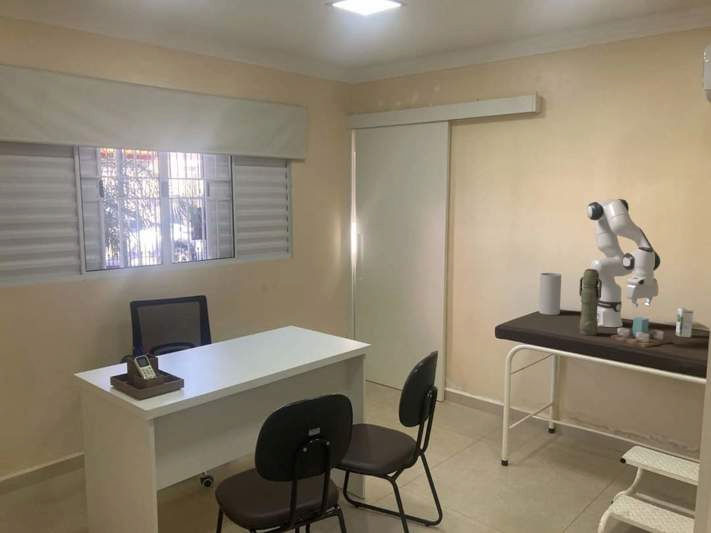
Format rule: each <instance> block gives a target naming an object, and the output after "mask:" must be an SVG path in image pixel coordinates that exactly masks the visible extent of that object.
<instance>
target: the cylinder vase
mask: <svg viewBox="0 0 711 533" xmlns="http://www.w3.org/2000/svg"><path fill="white" fill-rule="evenodd" d="M539 276H540V277H539V296H538V297H539V298H538V299H539V300H538V301H539V303H538V304H539V305H538V313H539V314H541V315H546V316H558V315H560V312H561V292H562V274H561V273H554V272H544V273H543V272H542V273H540V274H539Z"/></svg>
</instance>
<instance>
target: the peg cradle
mask: <svg viewBox="0 0 711 533" xmlns="http://www.w3.org/2000/svg"><path fill="white" fill-rule="evenodd" d="M616 333H617V334H613V335H611V336H610V339H611V340H616V341H618V342H624V343H627V344H631V345H635V346H638V347H642V348H648V347H652V346H657V345H658V346H659V345H663V344H669V343H670V339H667V338H664V333H665V332H664V331H663V330H659V329H651V331H650V334H649V332H648V333H644V332H637V334H636V338H634V337H632V335H633V325H632V327H631V330H630V328H627V327H617V332H616Z"/></svg>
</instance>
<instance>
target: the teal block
mask: <svg viewBox="0 0 711 533" xmlns="http://www.w3.org/2000/svg"><path fill="white" fill-rule="evenodd" d="M649 321H650V319H649V318H646V317H641V316H639V317H633V321H632V326H633V335H632V337H634V338H636V334H637V332H644V333H648V334H649V323H650V322H649Z"/></svg>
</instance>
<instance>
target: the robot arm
mask: <svg viewBox="0 0 711 533" xmlns="http://www.w3.org/2000/svg"><path fill="white" fill-rule="evenodd" d="M629 208H630V207H629V203H628V202H627V200H626V199H622V198H617V199H606V200H598V201H593V202H590V203H589V204H588V205H587V208H586V213H587V214H586V215H587V217H588V218H589V219H590V221H594V233H595V239H596V246H597V249H598V251H600V252H601V253H602V254H604V255H605V257H599V258H596V259H593V260H592V262H591V264H590V267H589V269H596V270H597V271H598V274H599V279H600V280H601V281H602V290H601V298H600V299H599V302H598V307H597V322H598V327H606V328H607V327H608V328H622V327H623V320H622V312H621V311H622V302H623V301H622V287H621V286H620V285H619V284H618V283H616V279H615V277H625V276H629V275H631V274H632V273H633V271H634V274H633V275H632V276H630V277H629V278H628V279H627V280H626V283H627V284H626V289H625V296H626V299H628V300H631V302H632V308H638V307H639V303H637V302H638V299H647V300H646V301H645V306H651V302H652V301H653V297H658V295H659V284H658V283H659V282H658V279H656V278H654V277H655V273H654V272H655V271H657V269H658V268H659V266H660V265H661V258H660V255H659V254H658V253H657V252H656V251H655V249H654V248H653V246H652V244H651V243H650V241H649V240H648V238H647V236H646V234H645V233H644V231H643V230H642V228H641V227H640V226H638V225H637V224H636V223H635V222H634V221H633V220H632V218H631V215H630V213H629V210H630V209H629ZM618 236H619V237H623V238H627V239H628V240H631V241H633V242H634V243H636V246H637V248H636V249H635V250H634V251H630V252H627V253H624V252H623V250H622V247H621V246H620V244H619V243H620V242H619V239H618Z"/></svg>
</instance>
